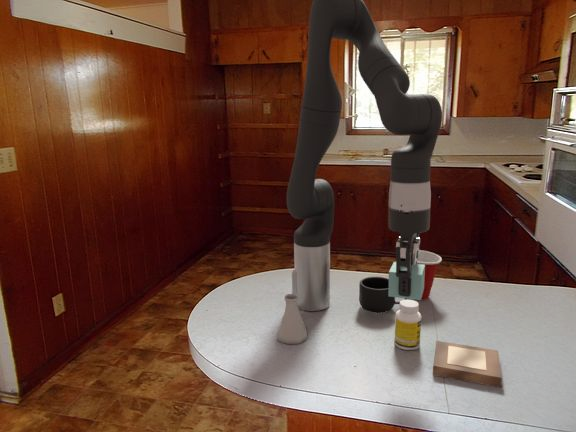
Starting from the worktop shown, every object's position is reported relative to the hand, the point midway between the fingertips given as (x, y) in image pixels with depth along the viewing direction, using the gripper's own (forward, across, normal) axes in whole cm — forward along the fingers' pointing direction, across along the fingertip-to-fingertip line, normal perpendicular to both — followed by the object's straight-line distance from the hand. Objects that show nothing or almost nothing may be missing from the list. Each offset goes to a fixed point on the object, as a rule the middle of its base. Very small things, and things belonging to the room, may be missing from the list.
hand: (407, 288), depth 87 cm
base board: (+16, -3, +12) cm, 20 cm away
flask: (+16, -2, -26) cm, 30 cm away
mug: (+16, -24, -9) cm, 30 cm away
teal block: (+1, 0, 0) cm, 1 cm away
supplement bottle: (+16, -8, -1) cm, 18 cm away
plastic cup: (+16, -35, -1) cm, 38 cm away
